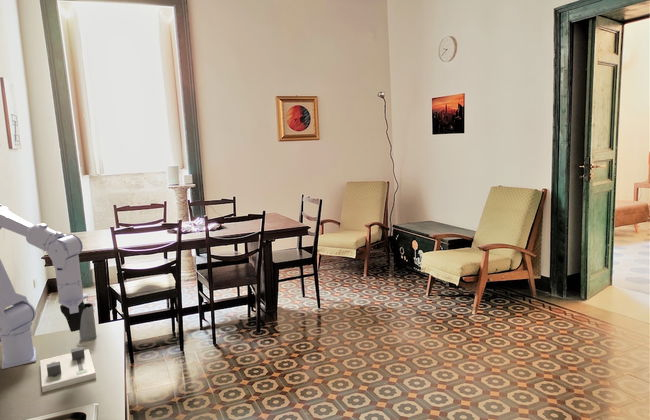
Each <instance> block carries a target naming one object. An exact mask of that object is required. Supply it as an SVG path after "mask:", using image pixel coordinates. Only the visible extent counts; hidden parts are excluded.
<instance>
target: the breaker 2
mask: <svg viewBox="0 0 650 420" xmlns="http://www.w3.org/2000/svg"><path fill="white" fill-rule="evenodd" d="M84 350H85V348H84V346H79V347H74V348H71V349H70V353H71V354H72V360H77V359H81V358H85V355H84Z"/></svg>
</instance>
